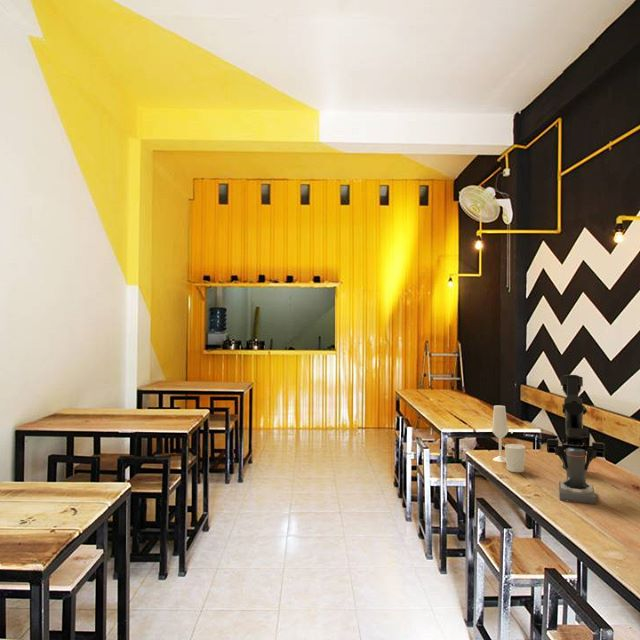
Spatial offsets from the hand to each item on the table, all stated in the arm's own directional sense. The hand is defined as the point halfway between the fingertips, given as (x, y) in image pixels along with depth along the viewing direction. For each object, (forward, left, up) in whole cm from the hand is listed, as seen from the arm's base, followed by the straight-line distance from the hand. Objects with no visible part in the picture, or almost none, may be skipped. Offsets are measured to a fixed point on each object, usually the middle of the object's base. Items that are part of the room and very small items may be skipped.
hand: (576, 469), depth 174 cm
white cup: (+9, -32, -10) cm, 35 cm away
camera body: (-1, -1, -10) cm, 10 cm away
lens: (-1, -1, -7) cm, 7 cm away
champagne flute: (+10, -47, -10) cm, 49 cm away
